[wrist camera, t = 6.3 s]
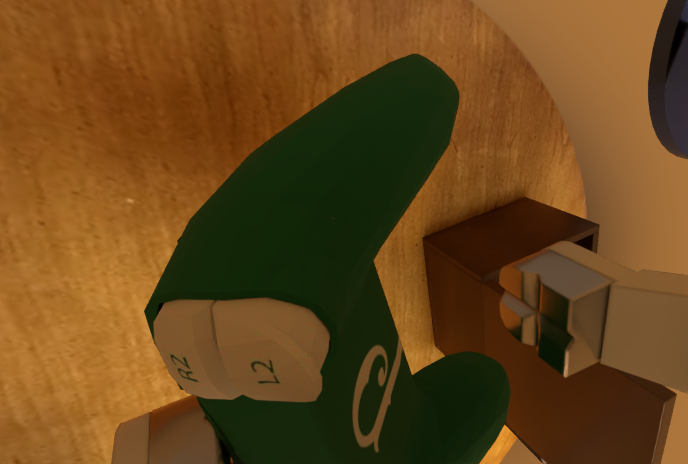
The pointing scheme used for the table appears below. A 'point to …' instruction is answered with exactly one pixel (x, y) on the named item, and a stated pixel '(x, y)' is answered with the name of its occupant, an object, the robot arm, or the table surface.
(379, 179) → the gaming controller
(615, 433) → the lid
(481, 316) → the chest
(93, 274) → the table surface
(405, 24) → the table surface
